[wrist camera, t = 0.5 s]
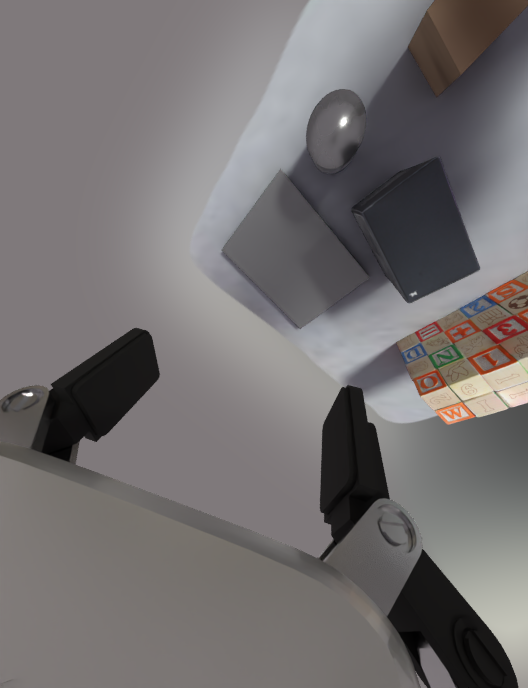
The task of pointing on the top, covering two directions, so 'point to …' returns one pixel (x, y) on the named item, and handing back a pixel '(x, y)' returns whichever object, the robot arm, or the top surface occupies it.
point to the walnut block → (458, 36)
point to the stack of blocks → (474, 355)
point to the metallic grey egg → (336, 130)
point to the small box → (417, 231)
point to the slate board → (293, 254)
